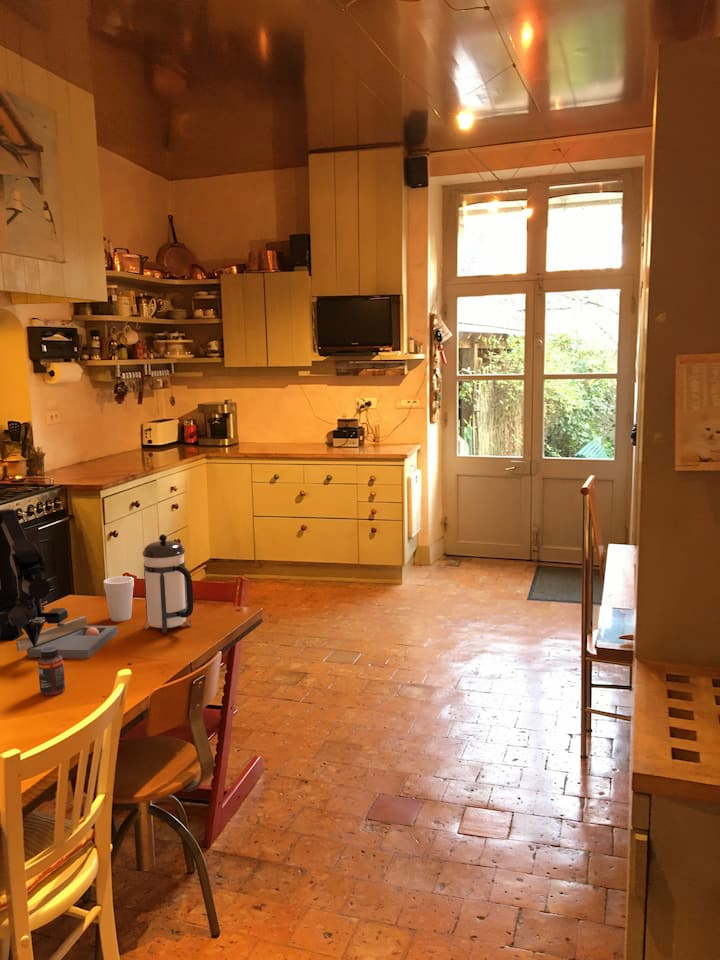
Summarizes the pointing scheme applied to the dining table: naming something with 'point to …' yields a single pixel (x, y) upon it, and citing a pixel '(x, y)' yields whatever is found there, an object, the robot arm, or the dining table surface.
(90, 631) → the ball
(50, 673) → the supplement bottle
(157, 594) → the coffee press
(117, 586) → the foam cup
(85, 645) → the board
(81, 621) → the lever
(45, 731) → the dining table surface
